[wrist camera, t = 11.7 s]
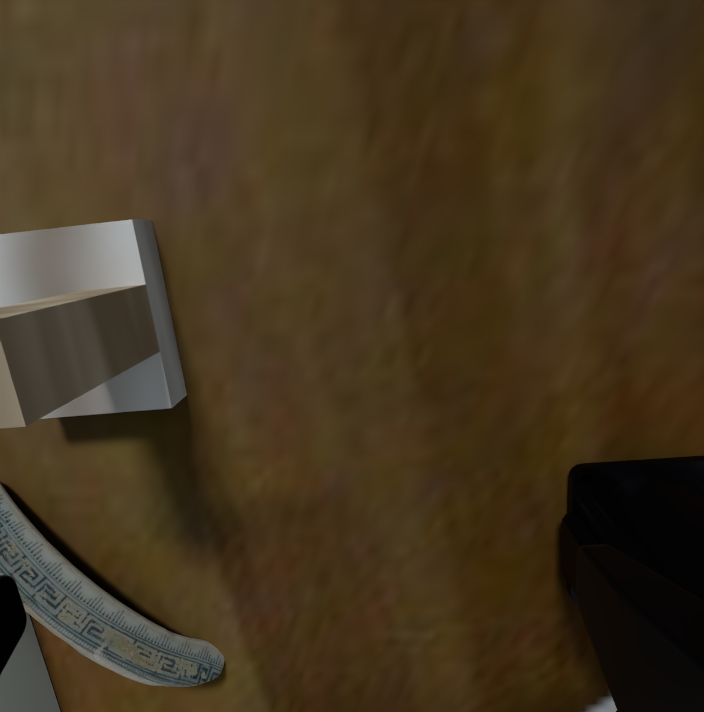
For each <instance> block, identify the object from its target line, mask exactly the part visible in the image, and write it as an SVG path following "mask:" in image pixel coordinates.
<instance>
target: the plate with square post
mask: <svg viewBox="0 0 704 712" xmlns="http://www.w3.org/2000/svg"><path fill="white" fill-rule="evenodd" d="M185 396H187V393H186V388H185V383H184V378H183V373H182V368H181V363H180V358H179V353H178V348H177V343H176V338H175V333H174V328H173V323H172V318H171V313H170V308H169V303H168V298H167V293H166V288H165V283H164V278H163V273H162V268H161V263H160V258H159V253H158V249H157V244H156V239H155V234H154V229H153V224H152V220H123V221H115V222H106V223H97V224H88V225H79V226H71V227H62V228H53V229H44V230H35V231H27V232H18V233H9V234H0V428H12V427H24V426H27V425H29V424H31V423H33V422H35V421H36V420H38V419H45V418H57V417H69V416H82V415H94V414H106V413H119V412H131V411H143V410H156V409H168V408H173V407H174V406H175V405H176V404H177V403H178V402H180V401H181V400H182V399H183V398H184V397H185Z"/></svg>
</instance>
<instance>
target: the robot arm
mask: <svg viewBox="0 0 704 712" xmlns="http://www.w3.org/2000/svg"><path fill="white" fill-rule="evenodd" d="M584 474H588V476H587V478H586V479H585V480H579V478H580V477H581V476H582V475H584ZM562 570H563V572H564V574H565V576H566V578H567V590H568V593H569V595H570V597H571V599H572V600H573V601H574V602H575V603H577V604H578V606H579V609H580V612H581V615H582V617H583V620H584V623H585V625H586V628H587V631H588V633H589V636H590V639H591V641H592V644H593V647H594V649H595V652H596V655H597V657H598V660H599V663H600V665H601V668H602V671H603V673H604V676H605V679H606V681H607V684H608V687H609V689H610V692H611V695H612V697H613V700H614V702H615V705H616V708H617V711H616V712H704V456H692V457H677V458H661V459H646V460H630V461H615V462H599V463H584V464H578V465H576V466H574V467H573V468H572V469H571V470H570V473H569V502H568V514H566V515H565V516H564V518H563V519H562ZM26 623H27V615H26V611H25V608H24V605H23V602H22V599H21V596H20V593H19V590H18V587H17V584H16V582H15V580H14V579H13V578H12V577H11V576H8V575H0V675H1V673H2V671H3V669H4V668H5V666H6V664H7V662H8V660H9V659H10V657H11V655H12V653H13V651H14V650H15V648H16V646H17V644H18V642H19V641H20V639H21V637H22V635H23V633H24V631H25V628H26Z"/></svg>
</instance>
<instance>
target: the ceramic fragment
mask: <svg viewBox="0 0 704 712" xmlns="http://www.w3.org/2000/svg"><path fill="white" fill-rule="evenodd" d="M0 575H8V576H11V577H12V578H13V579H14V580H15V582H16V584H17V587H18V590H19V593H20V596H21V599H22V602H23V605H24V608H25V611H26V612H27V613H28V614H30V615H31V616H32V617H33V618H35V619H36V620H37V621H38V622H40V623H41V624H42V625H44V626H45V627H46V628H47V629H49V630H50V631H51V632H52V633H53V634H55V635H56V636H58V637H59V638H61V639H62V640H64V641H65V642H67V643H68V644H70V645H71V646H72V647H73V648H75V649H76V650H77V651H78V652H80V653H81V654H82V655H84V656H86V657H87V658H89V659H91V660H93V661H94V662H96V663H98V664H100V665H102V666H104V667H106V668H108V669H110V670H112V671H114V672H116V673H118V674H120V675H122V676H124V677H127V678H129V679H132V680H135V681H138V682H140V683H144V684H147V685H154V686H171V687H189V686H196V685H200V684H203V683H206V682H208V681H211V680H214V679H216V678H217V677H218V676H219V675H220V673H221V670H222V668H223V666H224V661H225V659H224V657H223V655H222V654H221V653H220V652H219V650H218V649H216V648H215V647H214V646H213V645H212V644H210V643H209V642H207V641H205V640H202V639H195V638H189V637H186V636H182V635H179V634H176V633H173V632H171V631H168V630H167V629H165V628H163V627H161V626H159V625H157V624H155V623H153V622H151V621H150V620H148V619H146V618H145V617H143V616H141V615H140V614H138V613H137V612H135V611H133V610H132V609H130V608H129V607H127V606H126V605H124V604H122V603H121V602H119V601H118V600H116V599H115V598H114V597H112V596H111V595H110V594H108V593H107V592H106V591H104V590H103V589H101V588H100V587H99V586H98V585H96V584H95V583H94V582H93V581H91V580H90V579H89V578H88V577H87V576H85V575H84V574H83V573H82V572H80V571H79V570H78V569H77V568H76V567H75V566H74V565H72V564H71V563H70V562H69V561H68V560H67V559H66V558H65V557H64V556H63V555H62V554H61V553H60V552H59V551H58V550H57V549H56V548H55V547H53V546H52V545H51V544H50V543H49V542H48V541H47V540H46V539H45V538H44V536H43V535H42V534H41V533H40V532H39V531H38V530H37V529H36V528H35V527H34V525H33V524H32V523H31V522H30V521H29V520H28V518H27V517H26V516H25V515H24V514H23V513H22V512H21V510H20V509H19V508H18V507H17V505H16V504H15V503H14V501H13V500H12V499H11V497H10V496H9V495H8V493H7V492H6V490H5V489H4V487H3V486H2V485H1V483H0Z"/></svg>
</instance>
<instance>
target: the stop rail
mask: <svg viewBox="0 0 704 712" xmlns="http://www.w3.org/2000/svg"><path fill="white" fill-rule="evenodd" d="M26 615H27V623H26V628H25V631H24V633H23V635H22V637H21V639H20V641H19V642H18V644H17V646H16V648H15V650H14V651H13V653H12V655H11V657H10V659H9V660H8V662H7V664H6V666H5V668H4V669H3V671H2V673H1V675H0V712H61V711H60V708H59V705H58V702H57V699H56V696H55V693H54V690H53V687H52V684H51V681H50V677H49V674H48V671H47V668H46V665H45V662H44V659H43V656H42V653H41V650H40V647H39V644H38V641H37V638H36V635H35V632H34V628H33V625H32V622H31V619H30V616H29V614H28V613H27V612H26Z"/></svg>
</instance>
